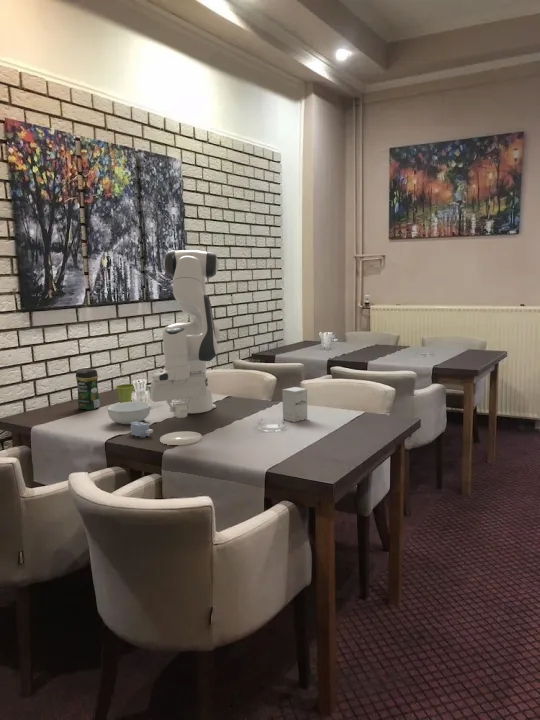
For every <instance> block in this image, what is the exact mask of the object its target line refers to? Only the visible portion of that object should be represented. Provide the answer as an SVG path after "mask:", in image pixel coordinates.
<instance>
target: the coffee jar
mask: <svg viewBox="0 0 540 720" xmlns="http://www.w3.org/2000/svg"><path fill="white" fill-rule="evenodd" d="M98 375H99V374H98V370H96V369H95V368H88V367H87V368H85V367H83V368H78V369H77V370H76V371H75V380H76V385H77V408H78V409H80V410H84V409H86V410H87V411H90V410H91V411H92V410H97V409H98V408H100V407H101V402H100V401H101V400H100V395H99V387H98V379H99V376H98ZM96 408H97V409H96Z"/></svg>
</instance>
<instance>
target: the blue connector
mask: <svg viewBox="0 0 540 720" xmlns="http://www.w3.org/2000/svg"><path fill="white" fill-rule="evenodd" d="M130 424H131V425H130V435H131V436H133V435H135V436H134V437H137V436H140V437H139V438H146V437H145V436H148V437H150V434H152V433H154V429H153V428H152V429H151V428H150V426H149V423H146V422H142V421H140V422H132V423H130Z"/></svg>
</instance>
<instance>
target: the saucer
mask: <svg viewBox="0 0 540 720" xmlns="http://www.w3.org/2000/svg"><path fill="white" fill-rule="evenodd" d="M201 441H202V434H201V433H199V432H197V431H187V430H186V431H185V430H184V431H173V432H169V433H165V434H164V435H161V436H160V438H159V442H161V444H162V443H163V444H162V445H164V444H167V445H166V446H169V445H183V446H189V445H193V444H195V443H198V442H201Z"/></svg>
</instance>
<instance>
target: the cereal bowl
mask: <svg viewBox="0 0 540 720" xmlns="http://www.w3.org/2000/svg"><path fill="white" fill-rule="evenodd" d="M150 411H151V404H150V403H149V402H146V401H136V400H135V401H134V400H133V402H123V403H120V402H119V403H114V404H112V405H109V406H108V407H107V413H108V417H109V418H110V420H112V421H113V422H115V423H118V424H120V423H121V424H120V425H122V424H130V423H132V422H142V421H144V420H146V418H147V417H149V415H150Z"/></svg>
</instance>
